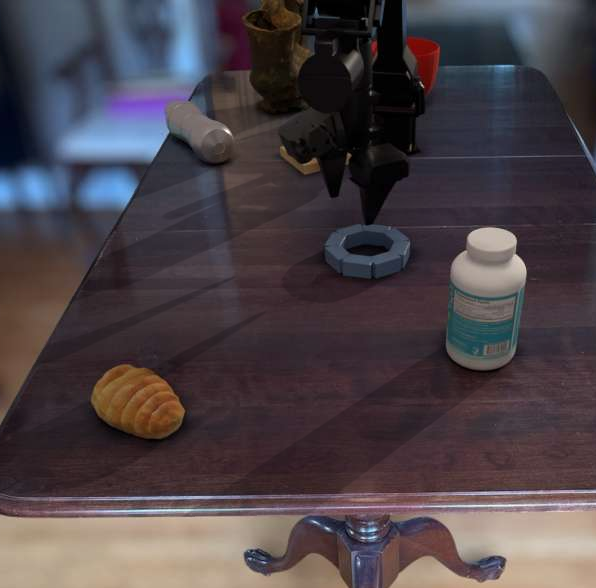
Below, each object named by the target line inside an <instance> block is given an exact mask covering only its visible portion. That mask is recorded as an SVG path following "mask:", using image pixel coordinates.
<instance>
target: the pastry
mask: <svg viewBox="0 0 596 588" xmlns="http://www.w3.org/2000/svg"><path fill="white" fill-rule="evenodd" d="M90 402H91V405H92V406H93V408H94V410H95V412H96V414H97V416H98V417H99V418H100V419H101V420H102V421H103V422H105V423H106V424H107V425H109V426H111V427H112V428H115V429H117V430H119V431H121V432H125V433H126V434H131V435H133V436H134V437H135V436H136V437H138V438H142V439H147V440H148V439H156V440H162V439H164V438H167V437H168V436H170V435H172V434H173V433H175V432H176V431H177V430H178V429H179V428H180V426H181V425H182V423H183V420H184V416H185V413H186V409H184V407H183V405H182V404H181V402H180V398H179V396H178V395H176V394H175V392H174V390H173V388H172V387H171V385H169V384H168V382H167V381H166V380H165V379H163V378H161V377H160V376H159V375H157V374H156V372H155V371H153V370H152V369H149V368H147V367H140V368H138V367H136V366H132V365H131V364H130V363H129V364H126V363H125V364H120V365H116V366H115V367H113V368H110V369H109V370H107V371H106V372H105V373H104V374H103V375H102V377H101V378H100V379H98V381H97V382H96V384H95V386H94V388H93V391H92V394H91V397H90Z"/></svg>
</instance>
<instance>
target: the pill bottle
mask: <svg viewBox="0 0 596 588" xmlns="http://www.w3.org/2000/svg"><path fill="white" fill-rule="evenodd" d="M517 242H518V241H517V237H516V236H515V235H514V233H512V232H511V231H509V230H506V229H503V228H500V227H480V228H477V229H474V230H472V231H471V232H470V233H469V234H468V235H467V237H466V245H465V249H466V250H464V251H462V252H461V253H459V254H458V255H457V256H456V257H455V258H454V259H453V261H452V264H451V267H450V275H449V287H448V289H449V290H448V306H447V320H446V334H445V350H446V352H447V355H448V356H449V358H451V359H452V361H454V362H455V363H456V364H458V365H460V366H462V367H463V368H467V369H470V370H474V371H491V370H495V369H500V368H501V367H504V366H505V365H507V364H508V363H509V362H511V361H512V359H513V358H514V356H515V353H516V350H517V343H518V336H519V330H520V329H519V328H520V323H521V315H522V308H523V301H524V294H525V289H526V283H527V282H526V281H527V268H526V267H527V266H526V265H525V263H524V261H523V259H522V258H521V257H520V256H519V255H517V254H516V252H517Z"/></svg>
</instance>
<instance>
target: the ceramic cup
mask: <svg viewBox="0 0 596 588" xmlns="http://www.w3.org/2000/svg"><path fill="white" fill-rule="evenodd" d="M406 38H407V46H408V48H409V49H410V51H411V52H412V54H413V55H414V57H415V58H416V60H417V72H418V76H420V77H421V81H422V85H423V86H424V90H425V98H426V97H428V95H429V94H430V92H431V91H432V89H433V86H434V84H435V81H436V78H437V74H438V70H439V69H438V68H439V62H440V51H441V47H440V45H439V44H438V43H437V42H435V41H432V40H431V39H430V40H429V39H426V38H419V37H407V36H406ZM376 52H377V40H376V41H374V42H373V41H372V61H373V58H374V56H375V54H376ZM413 104H415V102H413Z"/></svg>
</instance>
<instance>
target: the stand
mask: <svg viewBox="0 0 596 588" xmlns="http://www.w3.org/2000/svg"><path fill="white" fill-rule="evenodd" d="M279 153H280V157H282V159H284V160H285V161H286V162H288V163H289V164H290V165H291V166H293V167H294V168H295V169H297V170H298V171H299V172H301V173H302V174H303V175H304V176H305V175H309V174H313V173H319V172H321V169H320V167H319V164H318V161H317V159H316V158H313V159H312V161H310V162H308V163H306V164H299V163H298V162H297V161H296V160H295V159H294V158H292V157H291V156H289V155H288V154H287V152H286V150H285V147H284V145H283V146H279ZM351 156H352V155H350V154H349V153H348V155H347V159H346V164H345V166H349V159H350V157H351Z"/></svg>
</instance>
